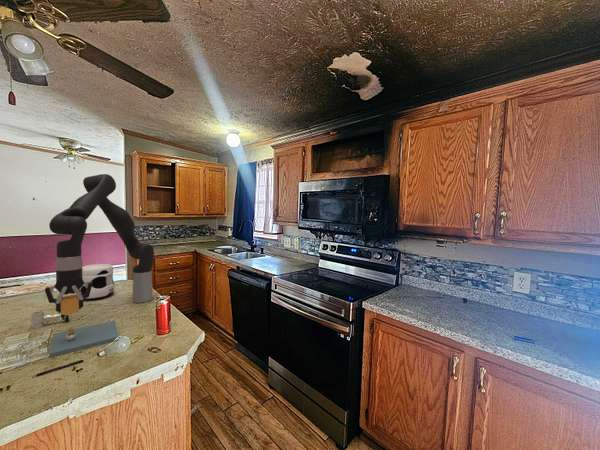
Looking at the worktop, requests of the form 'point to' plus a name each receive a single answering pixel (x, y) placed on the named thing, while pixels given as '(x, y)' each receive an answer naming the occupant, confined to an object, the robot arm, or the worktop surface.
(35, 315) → the valve
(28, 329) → the worktop surface
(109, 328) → the board
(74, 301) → the cap
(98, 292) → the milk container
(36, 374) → the black thin rod
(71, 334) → the peg
